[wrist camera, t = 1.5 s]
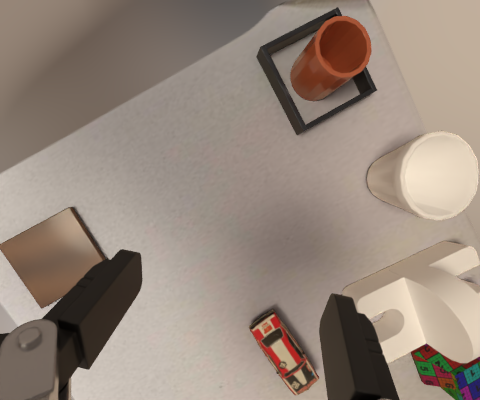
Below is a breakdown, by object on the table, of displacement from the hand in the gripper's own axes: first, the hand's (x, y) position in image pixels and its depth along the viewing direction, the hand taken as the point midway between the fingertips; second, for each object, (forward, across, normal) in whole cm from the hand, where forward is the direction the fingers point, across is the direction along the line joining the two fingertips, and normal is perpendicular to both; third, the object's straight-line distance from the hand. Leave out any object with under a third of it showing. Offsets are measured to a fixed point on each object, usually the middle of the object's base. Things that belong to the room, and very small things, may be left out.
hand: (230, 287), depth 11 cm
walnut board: (+14, +23, +16) cm, 31 cm away
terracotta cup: (+33, -4, -8) cm, 34 cm away
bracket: (+25, -24, +19) cm, 40 cm away
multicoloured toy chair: (+23, -34, +28) cm, 50 cm away
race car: (+17, -7, +26) cm, 32 cm away
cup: (+31, -18, +4) cm, 36 cm away
